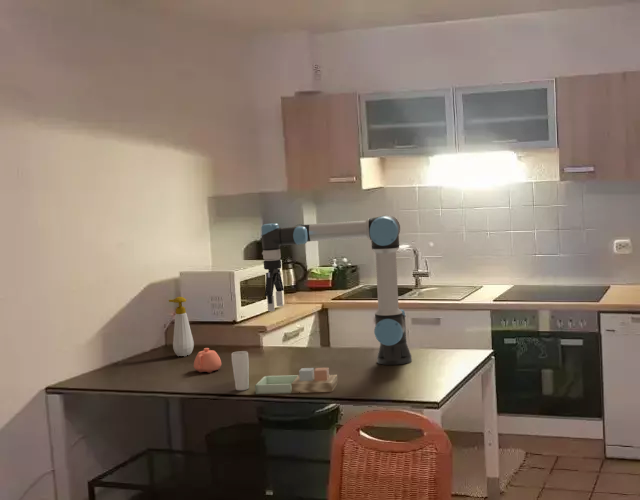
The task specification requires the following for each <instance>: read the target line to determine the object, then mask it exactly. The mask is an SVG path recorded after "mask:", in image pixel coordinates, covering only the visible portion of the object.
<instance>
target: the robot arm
mask: <svg viewBox="0 0 640 500" xmlns="http://www.w3.org/2000/svg"><path fill="white" fill-rule="evenodd" d="M400 231H401V225H400V223H399V221H398V219H396V217H394V216H392V215H389V214H385V215H384V214H383V215H381V216H377V217H369V218H367V219H366V220H355V221H352V220H351V221H341V222H339V221H338V222H324V223H323V222H322V223H312V224H311V223H310V224H300V223H299V224H295V225H294V226H291V227H289V226H288V227H280V226H279V223H264V224H262V225H261V231H260V232H261V235H260V236H261V245H262V246H261V247H262V252H261V255H262V256H263V257H262V258H263V269H264V270H267V272H266V273H265V288H264V289H265V290H264V291H265V292H264V297H266V300H267V311H268V312H275V310H276V309H275V301H276V307H284V301H283V300H284V299H283V292H284V291H285V288H284V284H283V280H282V276H281V269H282V260H281V258H282V256H281V255H282V254H281V246H291V245H292V246H293V245H296V246H297V245H299V246H301V245H305V244H307V242H321V241H322V242H324V241H336V240H337V241H340V240H356V239H367V240H370V241H371V250H372V251H373V252H374V253H375V267H376V268H375V269H376V272H375V273H376V289H377V308H378V309H377V310H376V311H375V312H374V320H375V321H374V322H375V323H374V324H375V326H374V330H373V332H374V336H375V338H376V340H377V341H378V342H379V348H378V352H377V356H376V360H377V361H376V362H377V364H379V365H384V366H385V365H386V366H387V365H388V366H396V365H403V364H408V363H411V362H412V360H413V359H412V354H411V351H410V348H409V345H408V342H407V329H406V328H407V327H406V325H407V324H406V312H405V310H404V309H400V308H399V289H398V288H399V285H398V272H397V271H398V270H397V269H398V268H397V267H398V266H397V251H398V250H399V249H400V233H401V232H400ZM274 288H275V290H276V291H275V296H274V295H273V294H274Z"/></svg>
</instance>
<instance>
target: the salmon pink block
mask: <svg viewBox="0 0 640 500" xmlns="http://www.w3.org/2000/svg"><path fill="white" fill-rule="evenodd" d="M329 375H330V368H329V367H315V368H314V378H315V381H322V380H328V379H329Z"/></svg>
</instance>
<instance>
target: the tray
mask: <svg viewBox="0 0 640 500" xmlns="http://www.w3.org/2000/svg"><path fill="white" fill-rule="evenodd" d="M298 376H299V374H297V375H296V374H295V375H293V374H292V375H291V374H290V375H265V376H263V377H261V379H260V380H259V381H258V382H257V383H256V384H255V385H254V389H255V395H272V394H274V395H276V394H279V395H282V394H292V388H291V384H292V382H293V381H294V380H295V379H296V378H297V377H298Z"/></svg>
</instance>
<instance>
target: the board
mask: <svg viewBox="0 0 640 500" xmlns="http://www.w3.org/2000/svg"><path fill="white" fill-rule="evenodd" d="M338 383H339V381H338V374H329V379H328V380H322V381H315V378H314V379H313V380H312V381H300V377H299V375H298V377H297V378H296V379H295V380H294V381H293V382H292V384H291V388H292V392H291V394H292V393H293V394H295V393H297V394H298V393H299V392H300V393H332V392H333V391H334V389H335V388H336V386H337V385H339V384H338Z"/></svg>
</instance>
